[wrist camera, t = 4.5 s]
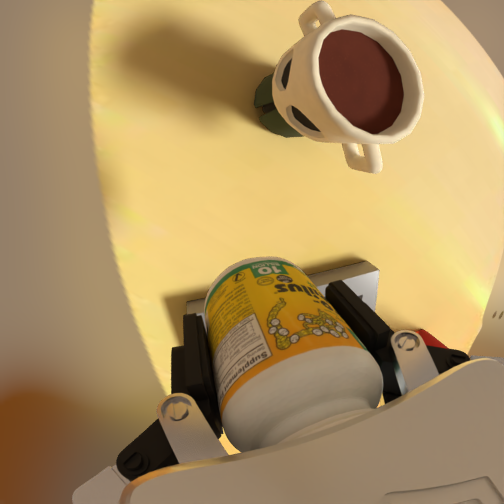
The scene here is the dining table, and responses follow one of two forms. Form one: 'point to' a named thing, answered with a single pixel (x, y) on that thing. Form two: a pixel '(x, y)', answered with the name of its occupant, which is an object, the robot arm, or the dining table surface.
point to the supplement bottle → (283, 356)
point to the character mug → (344, 86)
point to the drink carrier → (354, 276)
